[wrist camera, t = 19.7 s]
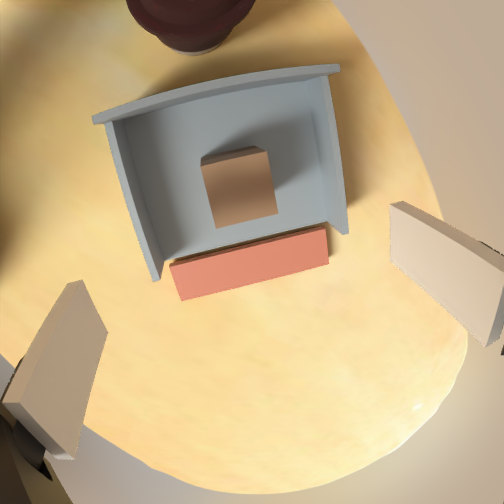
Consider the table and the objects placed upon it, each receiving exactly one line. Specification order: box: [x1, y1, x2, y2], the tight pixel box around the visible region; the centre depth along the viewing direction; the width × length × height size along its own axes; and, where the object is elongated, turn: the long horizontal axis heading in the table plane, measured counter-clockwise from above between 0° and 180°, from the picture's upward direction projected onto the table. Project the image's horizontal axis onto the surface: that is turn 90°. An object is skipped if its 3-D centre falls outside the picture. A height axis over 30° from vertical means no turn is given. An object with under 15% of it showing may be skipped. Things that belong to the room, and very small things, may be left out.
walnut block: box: [200, 146, 278, 229], centre depth 31 cm, size 6×6×7 cm
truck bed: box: [92, 64, 349, 282], centre depth 31 cm, size 22×18×9 cm
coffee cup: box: [126, 0, 255, 56], centre depth 21 cm, size 10×10×15 cm
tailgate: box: [169, 226, 329, 301], centre depth 40 cm, size 20×1×5 cm
